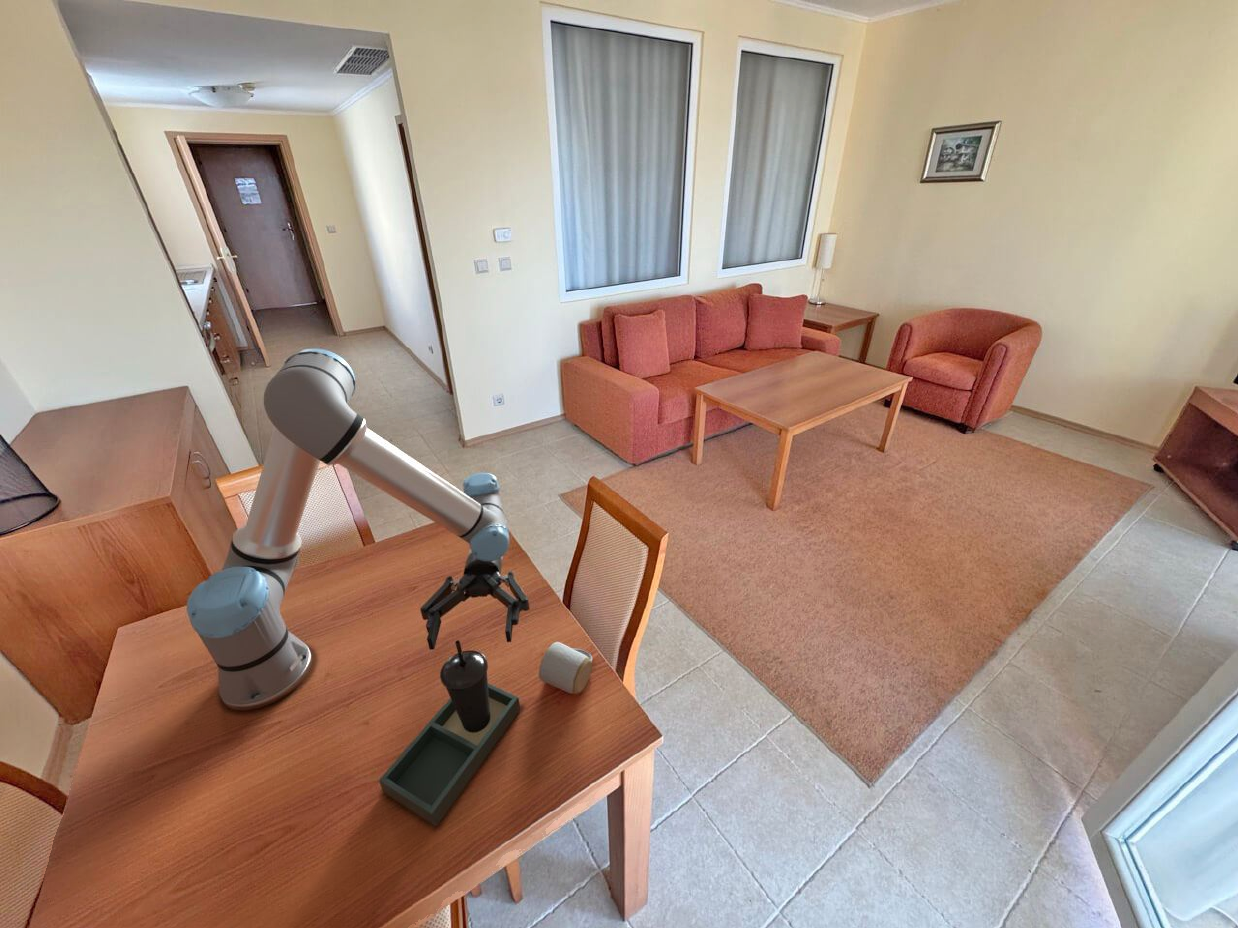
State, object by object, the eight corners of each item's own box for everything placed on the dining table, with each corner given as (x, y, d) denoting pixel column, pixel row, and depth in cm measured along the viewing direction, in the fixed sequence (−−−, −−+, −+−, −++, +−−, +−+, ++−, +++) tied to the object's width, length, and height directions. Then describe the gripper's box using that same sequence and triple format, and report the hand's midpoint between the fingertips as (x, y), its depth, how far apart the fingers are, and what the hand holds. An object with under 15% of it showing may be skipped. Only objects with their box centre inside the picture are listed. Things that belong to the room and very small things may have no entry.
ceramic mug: (576, 704, 92) (574, 676, 89) (539, 688, 95) (536, 661, 92) (602, 662, 101) (601, 635, 97) (567, 648, 104) (565, 622, 100)
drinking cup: (453, 707, 91) (432, 630, 81) (496, 695, 93) (480, 619, 83) (454, 746, 85) (432, 667, 75) (500, 732, 87) (483, 654, 77)
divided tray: (383, 792, 79) (378, 780, 77) (473, 686, 96) (470, 674, 94) (436, 826, 75) (431, 813, 73) (520, 709, 92) (518, 696, 90)
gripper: (543, 571, 110) (541, 648, 92) (428, 581, 108) (402, 661, 89) (540, 544, 106) (538, 618, 88) (421, 554, 104) (392, 632, 86)
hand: (469, 640), depth 89 cm, fingers open, 13 cm apart
